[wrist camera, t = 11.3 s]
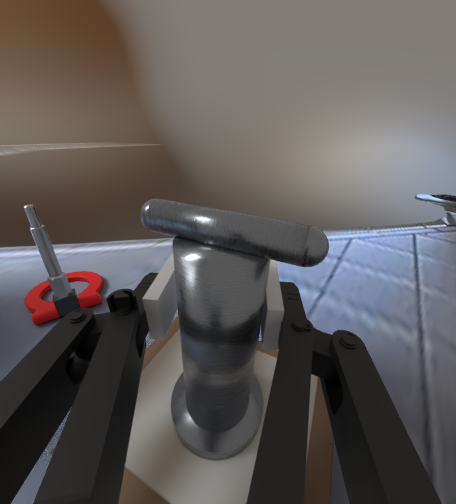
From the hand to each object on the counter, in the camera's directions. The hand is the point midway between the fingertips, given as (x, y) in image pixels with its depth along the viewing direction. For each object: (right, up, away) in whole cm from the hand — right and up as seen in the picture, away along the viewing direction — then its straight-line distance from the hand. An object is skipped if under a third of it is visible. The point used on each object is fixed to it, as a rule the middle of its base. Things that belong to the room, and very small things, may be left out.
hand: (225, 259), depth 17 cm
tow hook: (-21, -5, +13) cm, 25 cm away
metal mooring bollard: (-1, -10, 0) cm, 10 cm away
